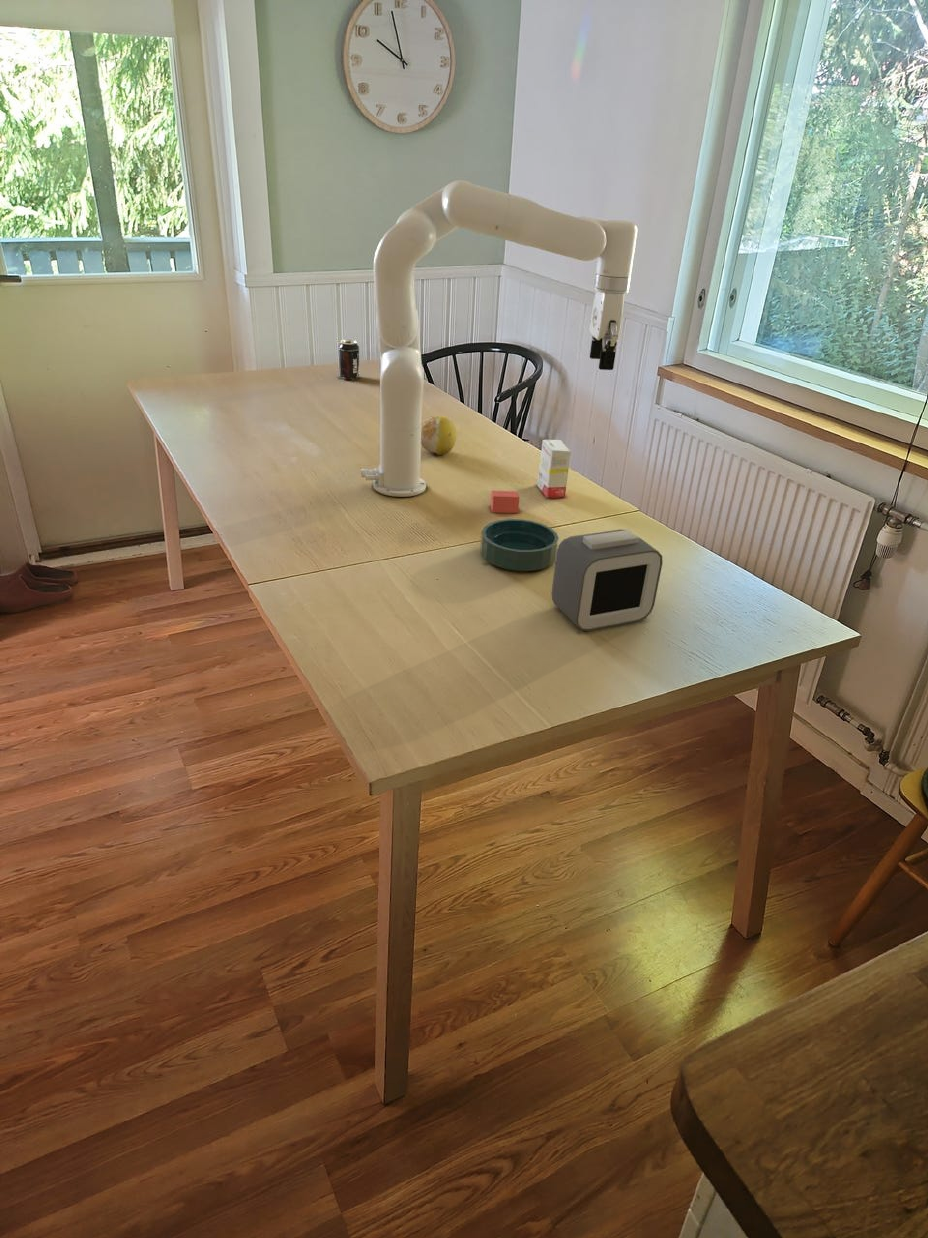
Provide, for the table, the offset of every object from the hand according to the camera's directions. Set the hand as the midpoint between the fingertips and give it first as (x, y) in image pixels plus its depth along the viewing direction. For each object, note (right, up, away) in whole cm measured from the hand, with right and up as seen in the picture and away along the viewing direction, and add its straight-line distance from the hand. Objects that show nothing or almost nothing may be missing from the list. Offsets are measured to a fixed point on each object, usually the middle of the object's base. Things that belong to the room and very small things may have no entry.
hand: (601, 363), depth 190 cm
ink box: (-10, -27, +15) cm, 32 cm away
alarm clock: (-6, -57, -34) cm, 67 cm away
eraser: (-22, -33, +4) cm, 39 cm away
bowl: (-20, -45, -17) cm, 52 cm away
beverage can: (-70, +23, +92) cm, 118 cm away
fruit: (-39, -14, +34) cm, 53 cm away
